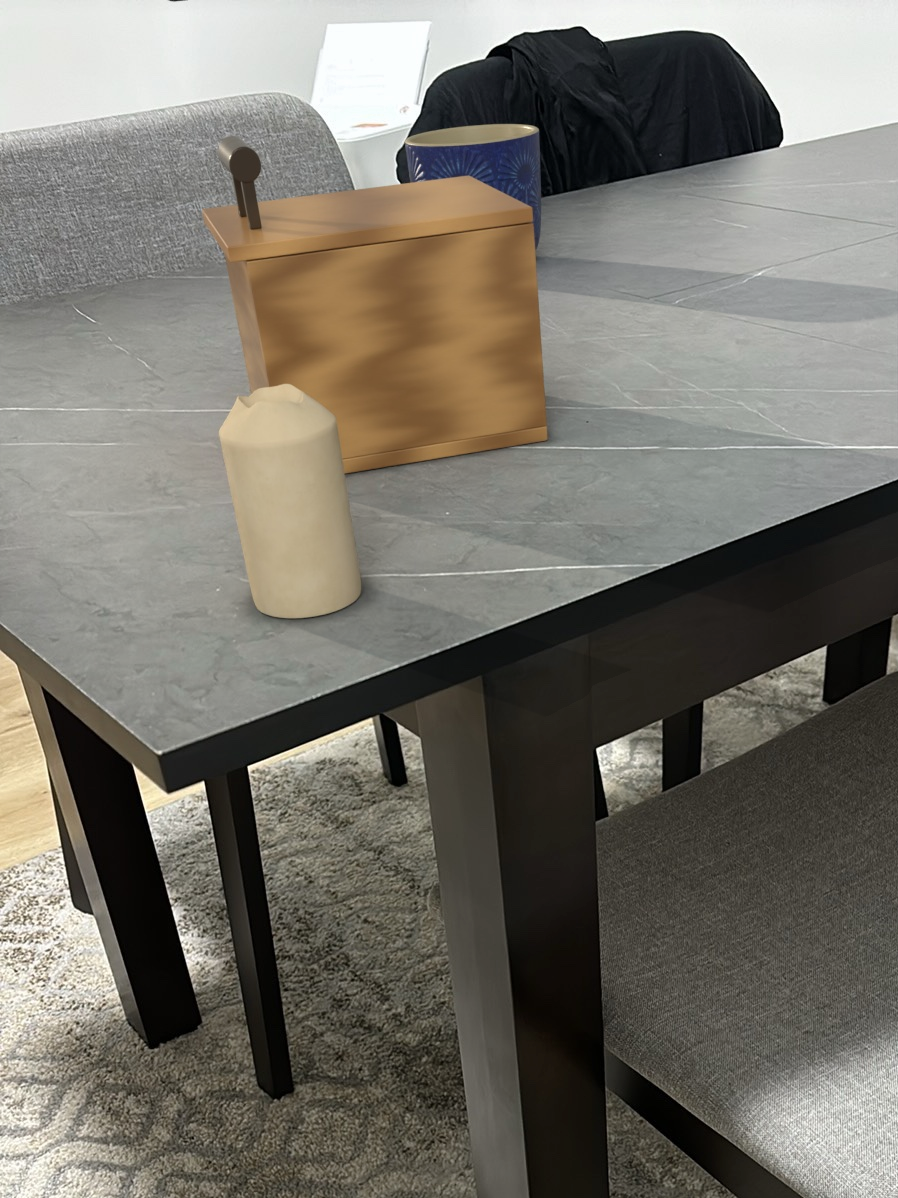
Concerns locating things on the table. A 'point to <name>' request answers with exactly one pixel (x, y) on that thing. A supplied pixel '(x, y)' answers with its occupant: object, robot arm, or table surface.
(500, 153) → the planter
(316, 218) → the lid
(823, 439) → the table surface
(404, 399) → the chest
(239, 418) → the candle
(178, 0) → the robot arm
